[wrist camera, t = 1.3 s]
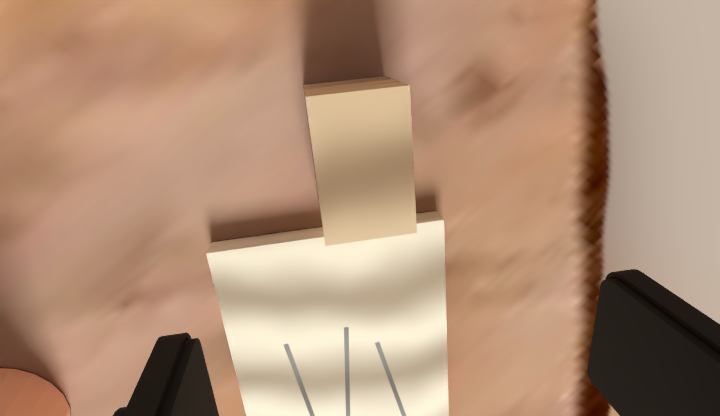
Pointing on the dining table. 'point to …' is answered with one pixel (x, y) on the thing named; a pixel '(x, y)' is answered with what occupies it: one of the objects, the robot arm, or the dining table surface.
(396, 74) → the dining table surface
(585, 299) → the dining table surface
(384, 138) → the block
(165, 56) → the dining table surface
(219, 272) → the board
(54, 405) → the pepper shaker
